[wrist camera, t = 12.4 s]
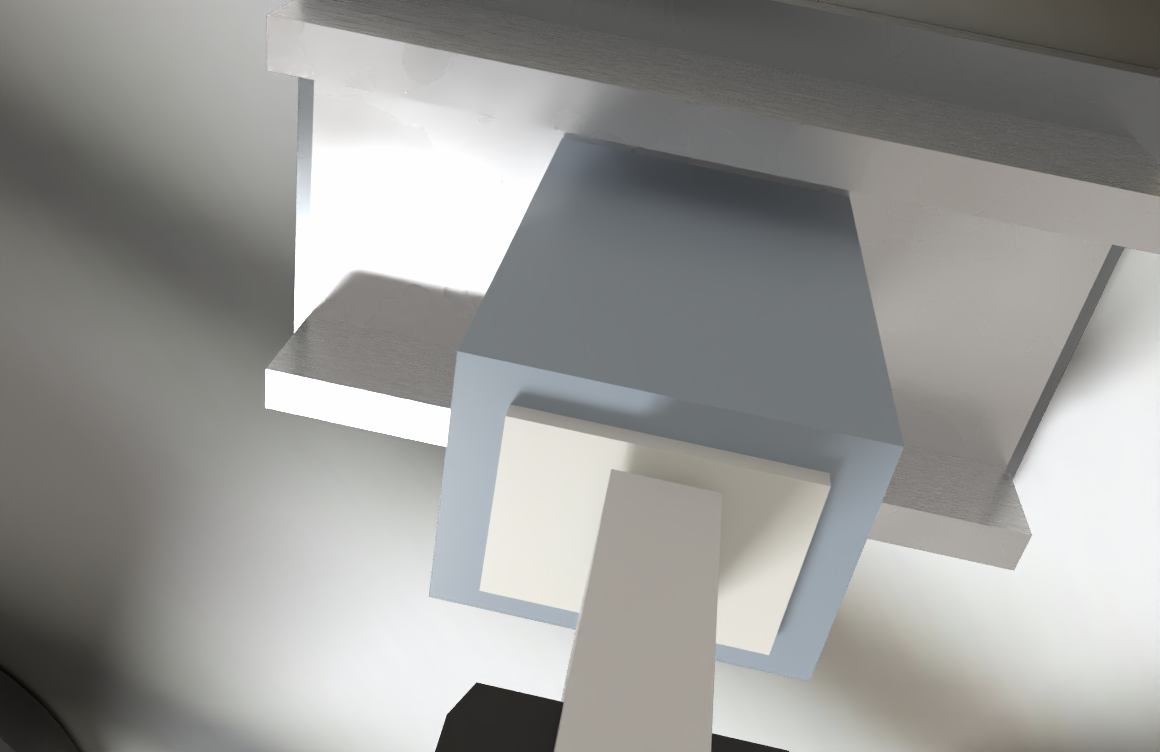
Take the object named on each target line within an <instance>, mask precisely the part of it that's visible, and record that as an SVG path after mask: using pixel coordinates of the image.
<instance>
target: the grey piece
mask: <svg viewBox="0 0 1160 752" xmlns="http://www.w3.org/2000/svg"><path fill="white" fill-rule="evenodd" d="M266 70H268V71H272V72H277V73H282V74H287V75H292V76H297V77H299V95H298V148H297V201H296V255H295V308H294V334H293V335H292V337H291V338H290V339H289V340H288V342H287V343H286V344H285V346H284V347H283V348H282V349H281V351H280V352H279V353H278V354H277V356H276V357H275V358H274V359H273V361H272V362H271V363H270V365H269V366H268V367H267V368H266V408H271V409H275V410H280V411H285V412H289V413H294V414H298V415H303V416H308V417H312V418H317V419H321V420H326V421H330V422H335V423H340V424H344V425H349V426H353V427H358V428H363V429H367V430H372V431H376V432H381V433H386V434H390V435H395V436H399V437H404V438H408V439H413V440H418V441H422V442H427V443H431V444H436V445H441V446H445V447H446V445H447V436H448V428H449V419H450V410H451V402H452V393H453V384H454V376H455V367H456V359H457V351H458V349H459V347H460V345H461V343H462V341H463V339H464V337H465V335H466V333H467V331H468V329H469V326H470V324H471V322H472V320H473V318H474V316H475V314H476V312H477V310H478V308H479V306H480V304H481V302H482V300H483V298H484V296H485V294H486V292H487V290H488V288H489V286H490V284H491V282H492V280H493V278H494V276H495V273H496V271H497V269H498V267H499V265H500V263H501V261H502V259H503V257H504V255H505V253H506V251H507V249H508V247H509V245H510V243H511V241H512V239H513V237H514V235H515V233H516V231H517V229H518V227H519V225H520V223H521V221H522V218H523V216H524V214H525V212H526V210H527V208H528V206H529V204H530V202H531V200H532V198H533V196H534V194H535V192H536V190H537V188H538V186H539V184H540V182H541V180H542V178H543V176H544V174H545V172H546V170H547V168H548V166H549V163H550V161H551V159H552V157H553V155H554V153H555V151H556V149H557V147H558V145H559V143H560V141H561V139H562V138H565V139H570V140H575V141H580V142H585V143H589V144H594V145H599V146H604V147H609V148H614V149H618V150H623V151H628V152H633V153H638V154H643V155H648V156H652V157H657V158H662V159H667V160H672V161H677V162H682V163H686V164H691V165H696V166H701V167H706V168H711V169H715V170H720V171H725V172H730V173H735V174H740V175H745V176H749V177H754V178H759V179H764V180H769V181H774V182H778V183H783V184H788V185H793V186H798V187H803V188H808V189H812V190H817V191H822V192H827V193H832V194H837V195H842V196H846V197H850V202H851V206H852V211H853V215H854V220H855V225H856V229H857V234H858V238H859V243H860V248H861V252H862V257H863V261H864V266H865V270H866V275H867V280H868V284H869V289H870V293H871V298H872V302H873V307H874V312H875V316H876V321H877V325H878V330H879V334H880V339H881V344H882V348H883V353H884V357H885V362H886V366H887V371H888V376H889V380H890V385H891V389H892V394H893V399H894V403H895V408H896V412H897V417H898V421H899V426H900V431H901V435H902V440H903V444H904V448H903V451H902V453H901V456H900V458H899V461H898V463H897V466H896V468H895V471H894V473H893V476H892V478H891V481H890V483H889V486H888V488H887V491H886V493H885V496H884V498H883V500H882V503H881V505H880V508H879V510H878V513H877V515H876V518H875V520H874V523H873V525H872V528H871V530H870V533H869V535H868V538H867V539H872V540H877V541H881V542H886V543H890V544H895V545H900V546H904V547H909V548H913V549H918V550H923V551H927V552H932V553H936V554H941V555H946V556H950V557H955V558H959V559H964V560H968V561H973V562H978V563H982V564H987V565H991V566H996V567H1001V568H1005V569H1010V570H1014V569H1015V567H1016V565H1017V563H1018V561H1019V560H1020V558H1021V556H1022V554H1023V552H1024V550H1025V548H1026V546H1027V544H1028V542H1029V540H1030V538H1031V536H1032V534H1031V531H1030V528H1029V525H1028V523H1027V520H1026V517H1025V514H1024V511H1023V509H1022V506H1021V503H1020V500H1019V497H1018V495H1017V492H1016V489H1015V486H1014V483H1013V481H1012V479H1013V477H1014V475H1015V473H1016V471H1017V469H1018V467H1019V465H1020V462H1021V460H1022V458H1023V456H1024V454H1025V452H1026V450H1027V448H1028V446H1029V444H1030V442H1031V440H1032V438H1033V436H1034V433H1035V431H1036V429H1037V427H1038V425H1039V423H1040V421H1041V419H1042V417H1043V415H1044V413H1045V411H1046V409H1047V406H1048V404H1049V402H1050V400H1051V398H1052V396H1053V394H1054V392H1055V390H1056V388H1057V386H1058V384H1059V382H1060V379H1061V377H1062V375H1063V373H1064V371H1065V369H1066V367H1067V365H1068V363H1069V361H1070V359H1071V357H1072V355H1073V353H1074V350H1075V348H1076V346H1077V344H1078V342H1079V340H1080V338H1081V336H1082V334H1083V332H1084V330H1085V328H1086V326H1087V323H1088V321H1089V319H1090V317H1091V315H1092V313H1093V311H1094V309H1095V307H1096V305H1097V303H1098V301H1099V299H1100V297H1101V294H1102V292H1103V290H1104V288H1105V286H1106V284H1107V282H1108V280H1109V278H1110V276H1111V274H1112V272H1113V270H1114V267H1115V265H1116V263H1117V261H1118V259H1119V257H1120V255H1121V253H1122V251H1123V249H1124V247H1127V248H1132V249H1136V250H1141V251H1146V252H1151V253H1156V254H1160V70H1158V69H1153V68H1148V67H1143V66H1138V65H1133V64H1128V63H1123V62H1118V61H1113V60H1108V59H1103V58H1098V57H1093V56H1088V55H1083V54H1078V53H1073V52H1068V51H1063V50H1058V49H1053V48H1048V47H1042V46H1037V45H1032V44H1027V43H1022V42H1017V41H1012V40H1007V39H1002V38H997V37H992V36H987V35H982V34H977V33H972V32H967V31H962V30H957V29H952V28H947V27H942V26H937V25H932V24H927V23H922V22H917V21H912V20H907V19H902V18H897V17H892V16H887V15H882V14H877V13H872V12H867V11H862V10H857V9H852V8H847V7H842V6H837V5H832V4H827V3H822V2H817V1H812V0H292V1H291V2H289V3H287V4H285V5H283V6H281V7H279V8H278V9H276V10H274V11H272V12H270V13H268V14H267V56H266Z"/></svg>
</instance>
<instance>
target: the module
mask: <svg viewBox="0 0 1160 752" xmlns="http://www.w3.org/2000/svg"><path fill="white" fill-rule="evenodd" d="M903 448H904V444H903V440H902V435H901V431H900V426H899V421H898V417H897V412H896V408H895V403H894V399H893V394H892V389H891V385H890V380H889V376H888V371H887V366H886V362H885V357H884V353H883V348H882V344H881V339H880V334H879V330H878V325H877V321H876V316H875V312H874V307H873V302H872V298H871V293H870V289H869V284H868V280H867V275H866V270H865V266H864V261H863V257H862V252H861V248H860V243H859V238H858V234H857V229H856V225H855V220H854V215H853V211H852V206H851V202H850V197H846V196H842V195H837V194H832V193H827V192H822V191H817V190H812V189H808V188H803V187H798V186H793V185H788V184H783V183H778V182H774V181H769V180H764V179H759V178H754V177H749V176H745V175H740V174H735V173H730V172H725V171H720V170H715V169H711V168H706V167H701V166H696V165H691V164H686V163H682V162H677V161H672V160H667V159H662V158H657V157H652V156H648V155H643V154H638V153H633V152H628V151H623V150H618V149H614V148H609V147H604V146H599V145H594V144H589V143H585V142H580V141H575V140H570V139H565V138H562V139H561V141H560V143H559V145H558V147H557V149H556V151H555V153H554V155H553V157H552V159H551V161H550V163H549V166H548V168H547V170H546V172H545V174H544V176H543V178H542V180H541V182H540V184H539V186H538V188H537V190H536V192H535V194H534V196H533V198H532V200H531V202H530V204H529V206H528V208H527V210H526V212H525V214H524V216H523V218H522V221H521V223H520V225H519V227H518V229H517V231H516V233H515V235H514V237H513V239H512V241H511V243H510V245H509V247H508V249H507V251H506V253H505V255H504V257H503V259H502V261H501V263H500V265H499V267H498V269H497V271H496V273H495V276H494V278H493V280H492V282H491V284H490V286H489V288H488V290H487V292H486V294H485V296H484V298H483V300H482V302H481V304H480V306H479V308H478V310H477V312H476V314H475V316H474V318H473V320H472V322H471V324H470V326H469V329H468V331H467V333H466V335H465V337H464V339H463V341H462V343H461V345H460V347H459V349H458V351H457V359H456V367H455V376H454V384H453V393H452V402H451V410H450V419H449V428H448V436H447V445H446V453H445V462H444V471H443V479H442V488H441V497H440V505H439V514H438V523H437V531H436V540H435V548H434V557H433V566H432V574H431V583H430V592H429V597H432V598H437V599H441V600H446V601H450V602H455V603H459V604H464V605H468V606H472V607H477V608H481V609H486V610H490V611H495V612H499V613H504V614H508V615H513V616H517V617H522V618H526V619H531V620H535V621H540V622H544V623H549V624H553V625H558V626H562V627H567V628H571V629H576V626H577V621H578V616H579V611H580V607H581V602H582V598H583V593H584V589H585V584H586V580H587V576H588V571H589V567H590V562H591V558H592V553H593V549H594V544H595V540H596V535H597V531H598V526H599V522H600V517H601V513H602V508H603V504H604V499H605V495H606V490H607V486H608V481H609V477H610V472H611V469H614V470H618V471H623V472H627V473H632V474H637V475H641V476H646V477H650V478H655V479H659V480H664V481H669V482H673V483H678V484H682V485H687V486H691V487H696V488H701V489H705V490H710V491H714V492H719V493H722V511H721V534H720V557H719V580H718V603H717V626H716V649H715V661H719V662H723V663H728V664H732V665H737V666H741V667H746V668H750V669H755V670H759V671H764V672H768V673H773V674H777V675H782V676H786V677H791V678H795V679H799V680H804V681H808V682H809V681H810V679H811V676H812V674H813V671H814V669H815V666H816V664H817V661H818V659H819V656H820V654H821V651H822V649H823V646H824V644H825V642H826V639H827V637H828V634H829V632H830V629H831V627H832V624H833V622H834V619H835V617H836V614H837V612H838V609H839V607H840V604H841V602H842V599H843V597H844V594H845V592H846V590H847V587H848V585H849V582H850V580H851V577H852V575H853V572H854V570H855V567H856V565H857V562H858V560H859V557H860V555H861V552H862V550H863V547H864V545H865V543H866V540H867V538H868V535H869V533H870V530H871V528H872V525H873V523H874V520H875V518H876V515H877V513H878V510H879V508H880V505H881V503H882V500H883V498H884V496H885V493H886V491H887V488H888V486H889V483H890V481H891V478H892V476H893V473H894V471H895V468H896V466H897V463H898V461H899V458H900V456H901V453H902V451H903Z"/></svg>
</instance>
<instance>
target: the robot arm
mask: <svg viewBox="0 0 1160 752" xmlns="http://www.w3.org/2000/svg"><path fill="white" fill-rule="evenodd" d="M721 511H722V493H719V492H714V491H710V490H705V489H701V488H696V487H691V486H687V485H682V484H678V483H673V482H669V481H664V480H659V479H655V478H650V477H646V476H641V475H637V474H632V473H627V472H623V471H618V470H614V469H611V472H610V477H609V481H608V486H607V490H606V495H605V499H604V504H603V508H602V513H601V517H600V522H599V526H598V531H597V535H596V540H595V544H594V549H593V553H592V558H591V562H590V567H589V571H588V576H587V580H586V584H585V589H584V593H583V598H582V602H581V607H580V611H579V616H578V621H577V626H576V631H575V636H574V640H573V645H572V650H571V655H570V660H569V665H568V670H567V675H566V680H565V685H564V690H563V695H562V700H561V702H560V701H556V700H551V699H547V698H542V697H538V696H534V695H529V694H525V693H520V692H516V691H512V690H507V689H503V688H498V687H494V686H490V685H485V684H481V683H476V684H475V685H474V686H473V687H472V688H471V689H470V690H469V691H468V692H467V694H466V695H465V696H464V697H463V698H462V699H461V700H460V701H459V702H458V703H457V704H456V706H455V707H454V708H453V709H452V710H451V711H450V712H449V713H448V714H447V716H446V719H445V722H444V725H443V729H442V732H441V735H440V738H439V741H438V744H437V747H436V751H435V752H789V751H787V750H783V749H778V748H774V747H770V746H765V745H761V744H756V743H752V742H748V741H743V740H739V739H734V738H730V737H726V736H721V735H717V734H712V718H713V695H714V672H715V649H716V626H717V603H718V580H719V557H720V534H721ZM0 752H78V751H77V749H76V747H75V746H74V744H73V743H72V741H71V740H70V738H69V737H68V735H67V734H66V733H65V731H64V730H63V729H62V728H61V726H60V725H59V724H58V722H57V721H56V720H55V719H54V718H53V717H52V716H51V715H50V713H49V712H48V711H47V710H46V709H45V708H44V707H43V706H42V705H41V704H40V703H39V702H38V701H37V700H36V699H35V698H34V697H33V696H31V695H30V694H29V693H28V692H27V691H26V690H25V689H24V688H22V687H21V686H20V685H19V684H18V683H16V682H15V681H14V680H13V679H12V678H10V677H9V676H8V675H6V674H5V673H4V672H2V671H1V670H0Z"/></svg>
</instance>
